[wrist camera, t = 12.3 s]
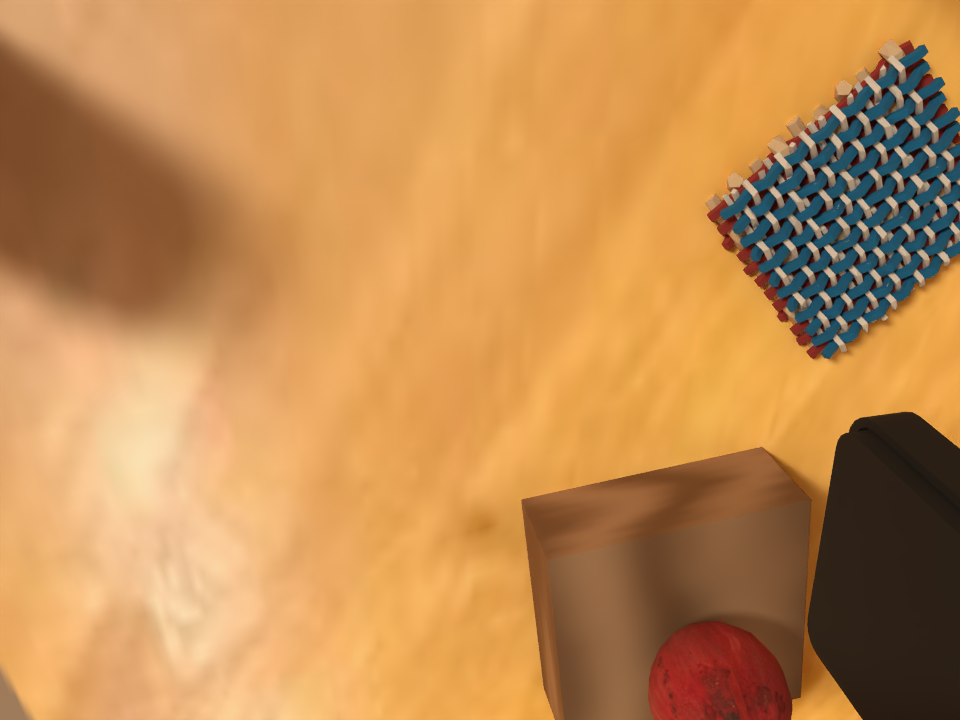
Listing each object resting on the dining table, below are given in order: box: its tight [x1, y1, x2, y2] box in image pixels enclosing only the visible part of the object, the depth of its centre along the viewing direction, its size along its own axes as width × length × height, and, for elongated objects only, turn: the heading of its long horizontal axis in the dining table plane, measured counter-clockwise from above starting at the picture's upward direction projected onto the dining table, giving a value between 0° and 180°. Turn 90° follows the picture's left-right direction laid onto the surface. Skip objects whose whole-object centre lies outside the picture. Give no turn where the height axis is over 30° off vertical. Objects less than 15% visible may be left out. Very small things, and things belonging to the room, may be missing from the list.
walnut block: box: [521, 447, 811, 720], centre depth 44 cm, size 12×12×5 cm
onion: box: [648, 621, 792, 720], centre depth 38 cm, size 6×6×8 cm
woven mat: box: [705, 39, 960, 359], centre depth 39 cm, size 10×11×2 cm
